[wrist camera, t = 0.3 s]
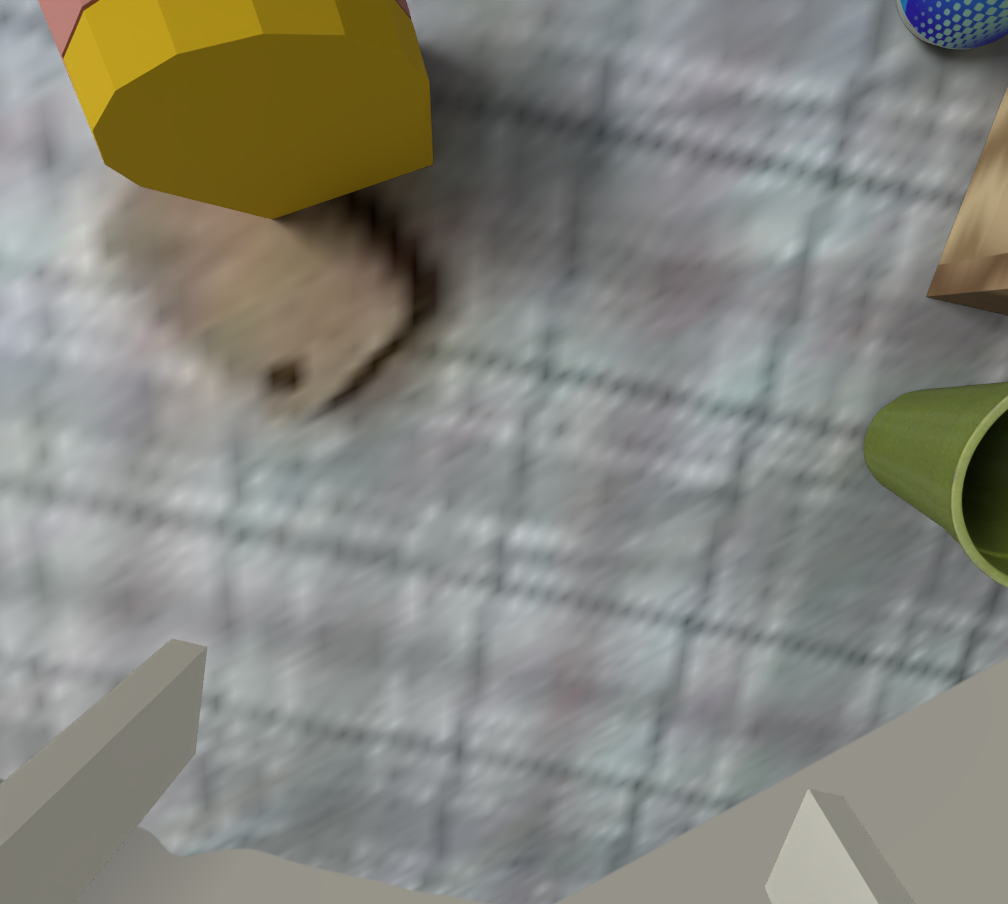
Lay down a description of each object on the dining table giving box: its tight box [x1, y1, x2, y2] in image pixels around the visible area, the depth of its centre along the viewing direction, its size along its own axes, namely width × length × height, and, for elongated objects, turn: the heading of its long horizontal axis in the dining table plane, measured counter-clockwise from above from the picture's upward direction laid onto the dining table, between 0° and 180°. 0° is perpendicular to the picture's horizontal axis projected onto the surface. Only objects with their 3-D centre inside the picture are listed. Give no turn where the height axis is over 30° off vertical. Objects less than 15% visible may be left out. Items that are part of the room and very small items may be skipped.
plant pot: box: [864, 382, 1008, 587], centre depth 31 cm, size 12×12×11 cm
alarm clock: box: [38, 0, 433, 220], centre depth 25 cm, size 15×8×18 cm, turn 106°
